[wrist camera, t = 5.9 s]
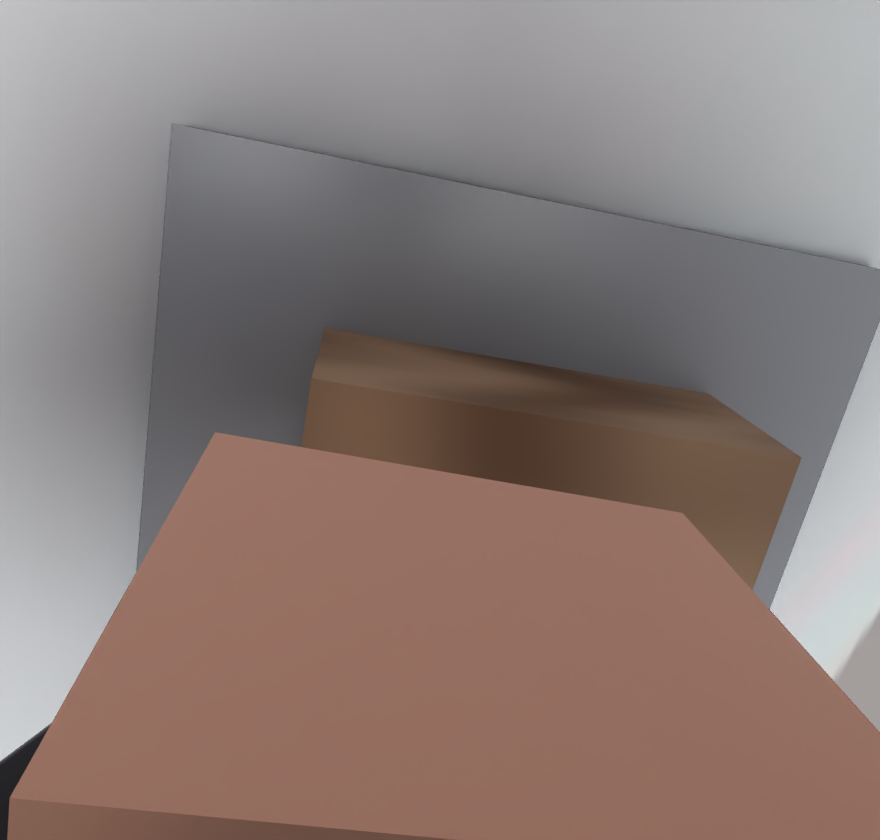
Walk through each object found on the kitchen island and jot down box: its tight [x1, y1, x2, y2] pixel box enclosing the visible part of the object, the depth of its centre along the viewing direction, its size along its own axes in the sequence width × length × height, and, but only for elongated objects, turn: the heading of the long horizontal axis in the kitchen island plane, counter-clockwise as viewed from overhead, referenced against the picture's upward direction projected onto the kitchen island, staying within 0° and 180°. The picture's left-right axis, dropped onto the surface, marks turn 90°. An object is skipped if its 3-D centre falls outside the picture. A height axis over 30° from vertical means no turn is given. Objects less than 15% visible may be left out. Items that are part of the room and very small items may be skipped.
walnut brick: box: [301, 328, 802, 591], centre depth 16 cm, size 9×9×4 cm
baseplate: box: [136, 123, 880, 609], centre depth 19 cm, size 16×16×1 cm
